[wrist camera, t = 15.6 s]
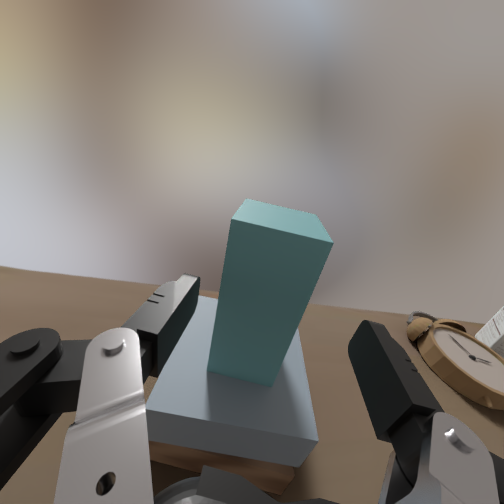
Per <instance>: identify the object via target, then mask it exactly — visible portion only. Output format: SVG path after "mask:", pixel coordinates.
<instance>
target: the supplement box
mask: <svg viewBox="0 0 504 504" xmlns="http://www.w3.org/2000/svg"><path fill="white" fill-rule="evenodd" d="M475 338H476V339H477V340H479V341H481V342H482V343H484V344H485V345H487V346H488V347H490V348H491V349H492V350H493V351H495V352H496V353H497V354H499V355H500V356H501V357H502V358H503V359H504V306H503V307H502V308H501V309H500V310H499V311H498V313H496V314H495V315H494V317H492V318H491V319H490V320H489V322H488V323H487V324H486V325H485V326H484V327H483V328H482V329H481V330H480V331H479V332H478V333H477V334H476V335H475Z"/></svg>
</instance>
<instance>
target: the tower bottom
mask: <svg viewBox="0 0 504 504" xmlns="http://www.w3.org/2000/svg"><path fill="white" fill-rule="evenodd" d="M148 444H149V455H150V460H153V461H156V462H160V463H164V464H167V465H171V466H175V467H179V468H182V469H186V470H190V471H193V472H197V473H201V472H202V468H203V465H206V466H209V467H213V468H216V469H220V470H223V471H227V472H230V473H234V474H237V475H241V476H242V477H244V478H245V479H246V480H248V481H249V482H251V483H252V484H253V485H255V486H256V487H258V488H259V489H261V490H264V491H267V492H271V493H275V494H278V495H281V494H282V492H283V491H284V490H285V489H286V487H287V486H288V485H289V483H290V482H291V481H292V479H293V478H294V477H295V476H294V467H293V466H288V465H282V464H277V463H271V462H266V461H260V460H255V459H249V458H243V457H238V456H232V455H227V454H221V453H216V452H210V451H205V450H199V449H194V448H188V447H182V446H177V445H171V444H166V443H160V442H155V441H149V440H148Z"/></svg>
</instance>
